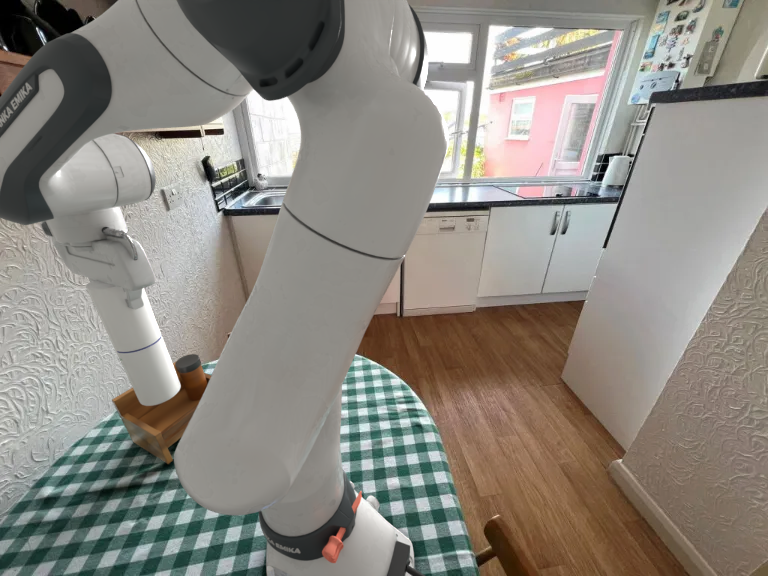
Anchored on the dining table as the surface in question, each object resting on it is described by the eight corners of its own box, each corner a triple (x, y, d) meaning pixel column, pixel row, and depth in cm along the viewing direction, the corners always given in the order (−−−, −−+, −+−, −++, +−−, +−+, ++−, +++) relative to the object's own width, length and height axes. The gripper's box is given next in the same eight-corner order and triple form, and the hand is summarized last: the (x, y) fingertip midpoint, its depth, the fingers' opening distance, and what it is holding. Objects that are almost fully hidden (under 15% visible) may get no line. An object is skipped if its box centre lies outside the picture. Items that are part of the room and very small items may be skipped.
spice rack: (234, 407, 75) (220, 358, 68) (168, 464, 62) (142, 409, 55) (201, 392, 79) (184, 345, 73) (133, 442, 66) (106, 389, 60)
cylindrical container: (160, 408, 60) (109, 291, 49) (130, 403, 61) (74, 287, 51) (188, 382, 66) (149, 273, 56) (160, 378, 67) (116, 271, 57)
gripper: (150, 226, 47) (177, 306, 53) (81, 216, 56) (111, 286, 62) (102, 236, 42) (137, 323, 48) (34, 223, 51) (71, 299, 56)
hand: (122, 302), depth 55 cm, fingers closed on cylindrical container, 7 cm apart
